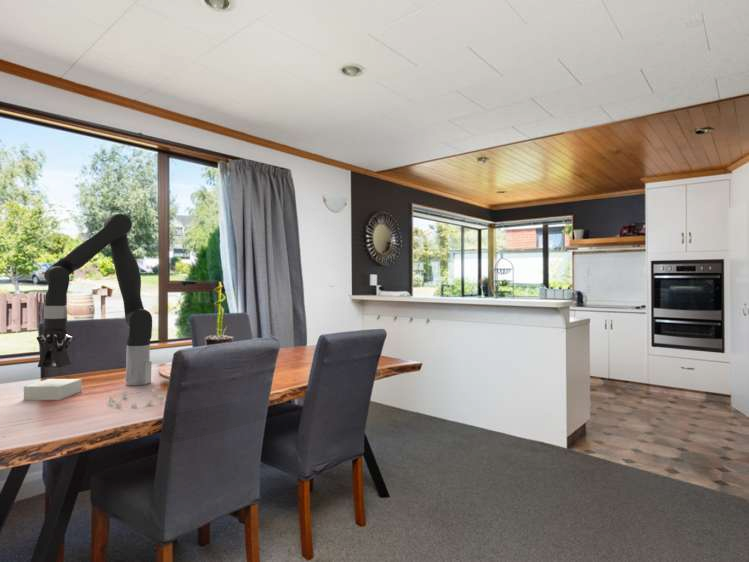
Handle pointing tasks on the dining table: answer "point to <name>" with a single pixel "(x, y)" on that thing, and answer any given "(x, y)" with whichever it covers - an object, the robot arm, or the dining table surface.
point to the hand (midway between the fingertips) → (54, 360)
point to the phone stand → (59, 356)
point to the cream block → (52, 389)
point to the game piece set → (132, 403)
